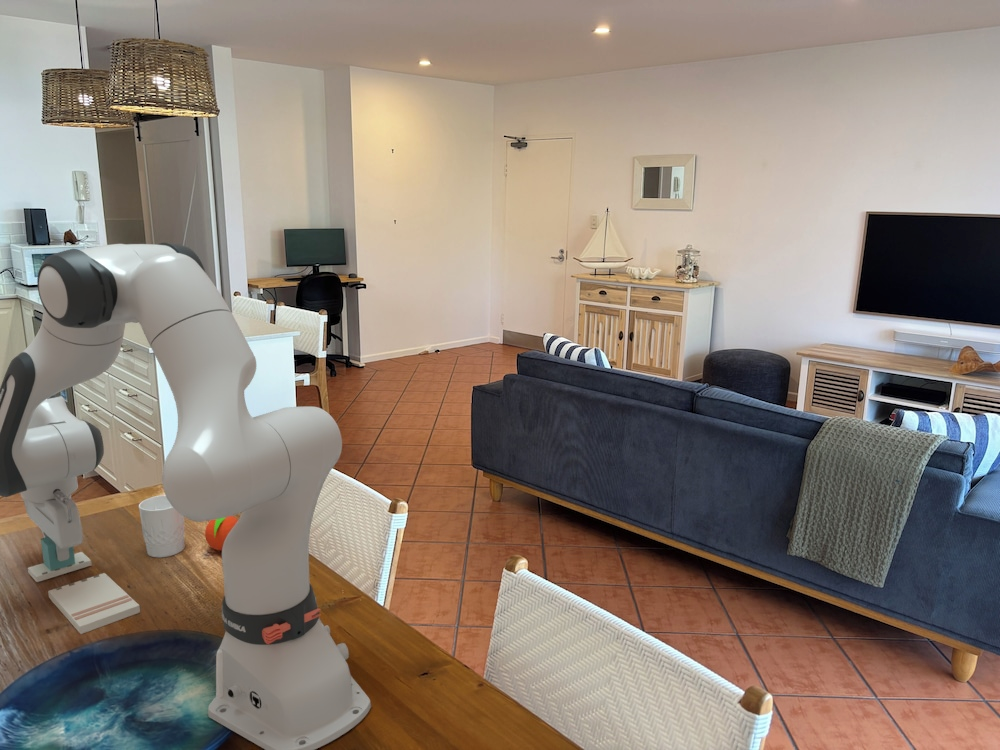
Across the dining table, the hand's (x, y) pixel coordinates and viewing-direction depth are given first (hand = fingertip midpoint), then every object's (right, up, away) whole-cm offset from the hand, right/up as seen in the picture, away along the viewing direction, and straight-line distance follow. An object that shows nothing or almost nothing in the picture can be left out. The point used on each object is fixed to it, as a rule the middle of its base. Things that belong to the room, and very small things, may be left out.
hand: (58, 554), depth 135 cm
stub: (0, -3, +1) cm, 3 cm away
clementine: (+27, -2, +10) cm, 29 cm away
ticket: (+13, -6, -11) cm, 18 cm away
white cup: (+16, -2, +9) cm, 18 cm away
